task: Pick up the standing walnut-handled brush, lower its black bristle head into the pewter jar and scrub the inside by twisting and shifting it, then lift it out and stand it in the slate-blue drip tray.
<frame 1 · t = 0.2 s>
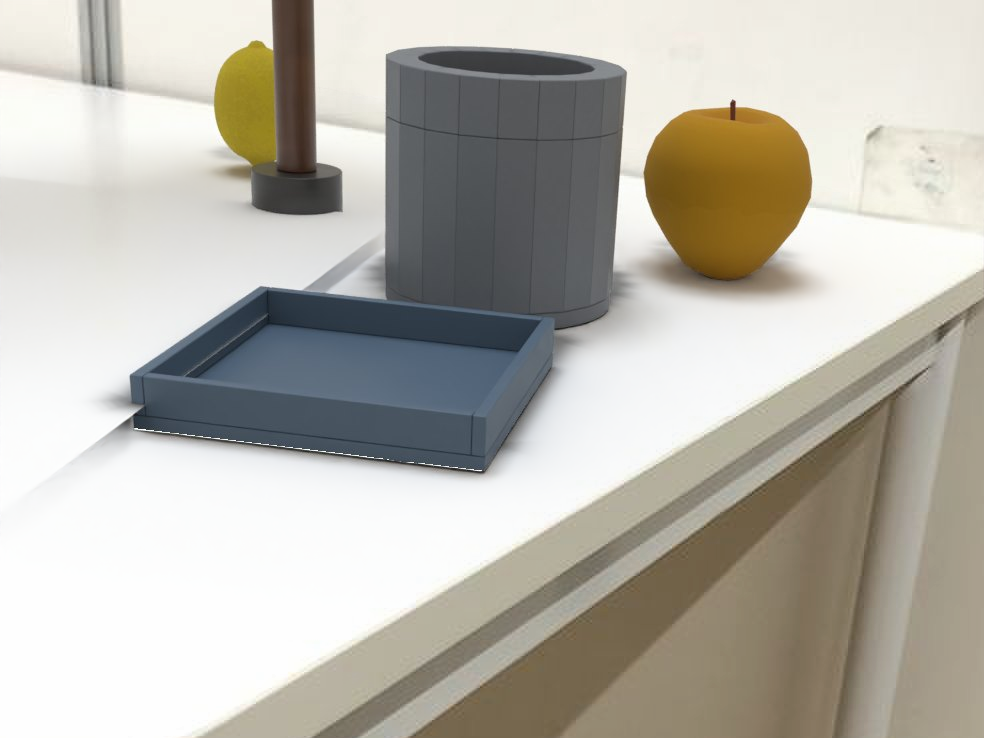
tray: (360, 395, 59), on the table
lemon: (261, 174, 97), on the table
apple: (718, 275, 81), on the table
jar: (498, 298, 73), on the table
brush: (298, 223, 84), on the table
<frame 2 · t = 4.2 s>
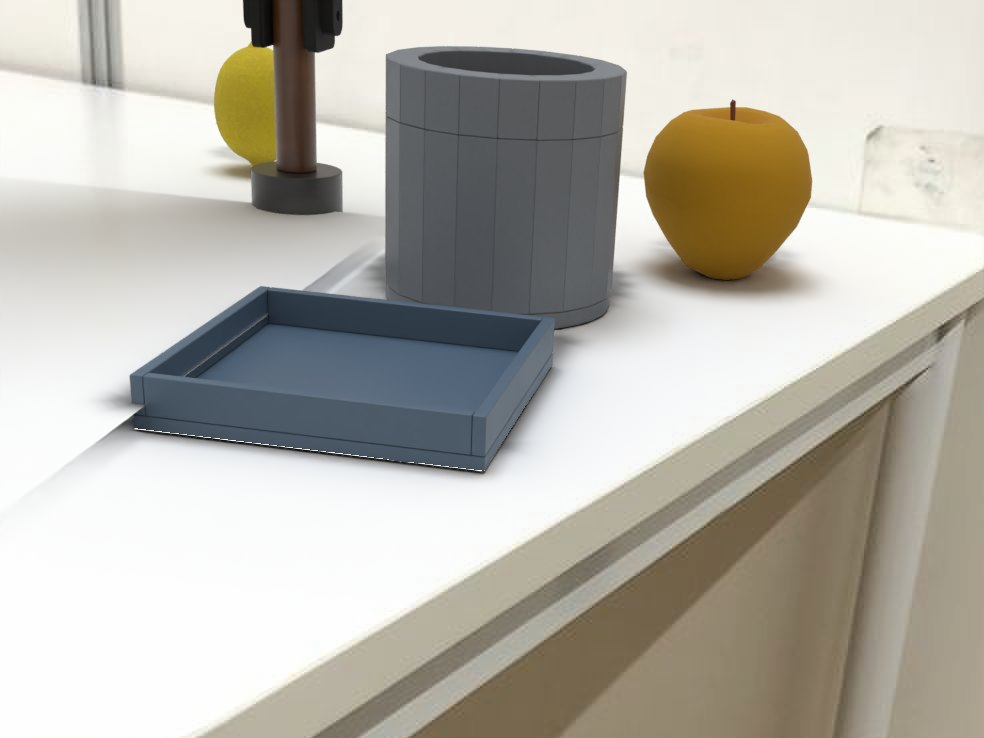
hand: (293, 44, 80), 10 cm above the table, tool pointing down, fingers closed on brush
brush: (298, 223, 84), on the table, touching gripper
everything else where it was.
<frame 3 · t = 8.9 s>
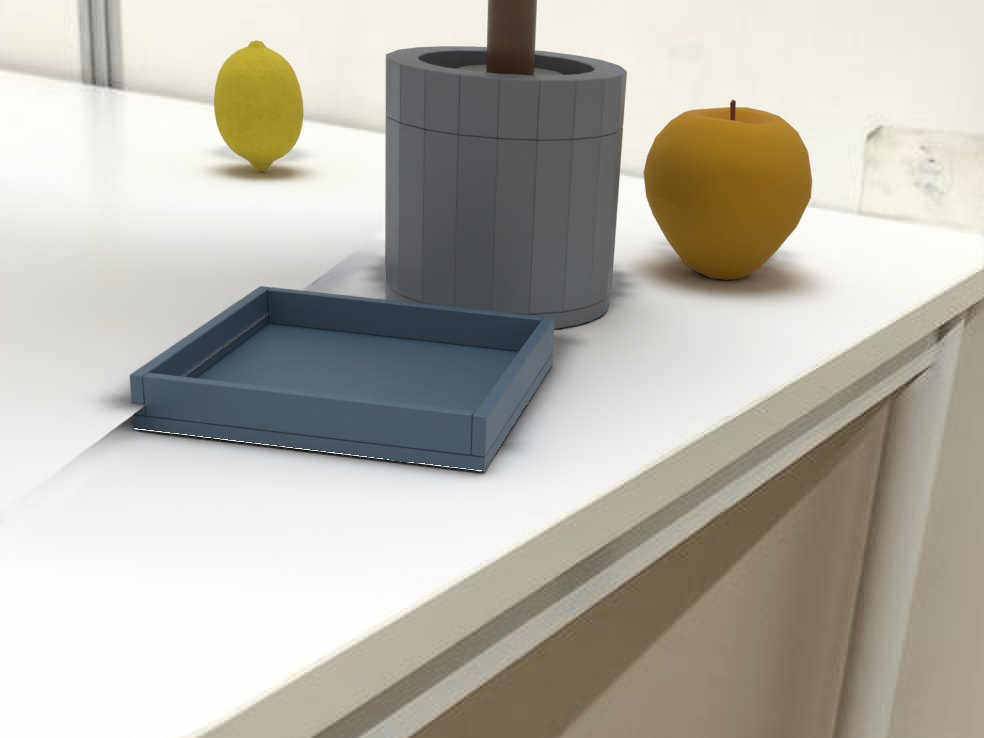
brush: (508, 139, 70), point 8 cm above the table, touching gripper
everything else where it was.
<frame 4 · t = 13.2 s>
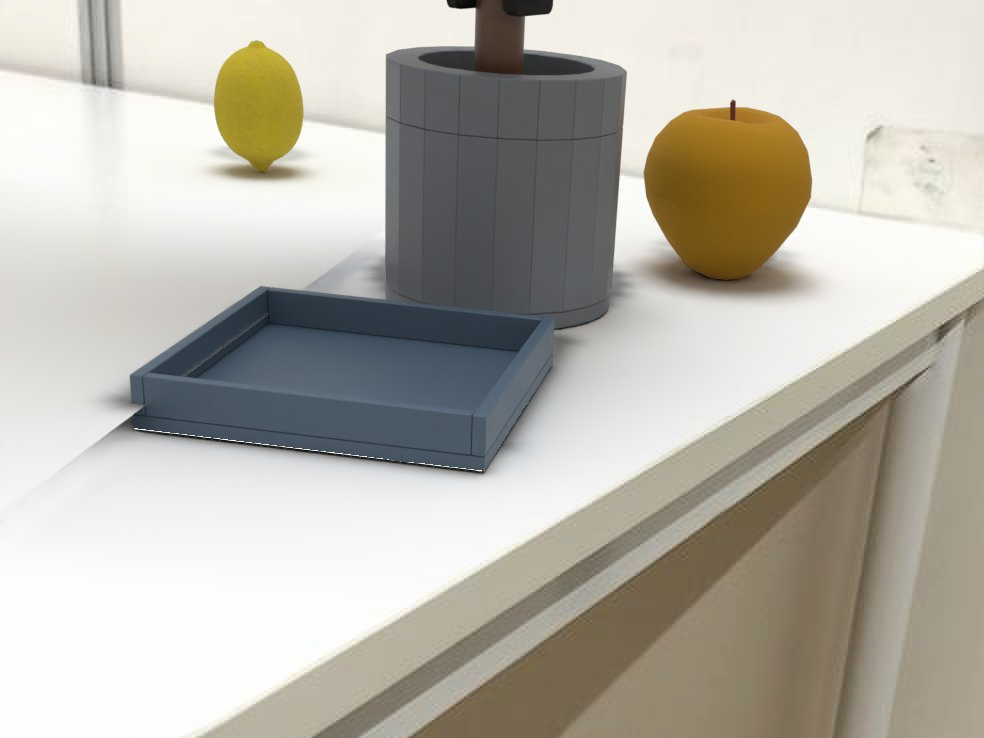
hand: (499, 7, 66), 13 cm above the table, tool pointing down, fingers closed on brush
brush: (492, 225, 70), point 4 cm above the table, touching gripper
everything else where it was.
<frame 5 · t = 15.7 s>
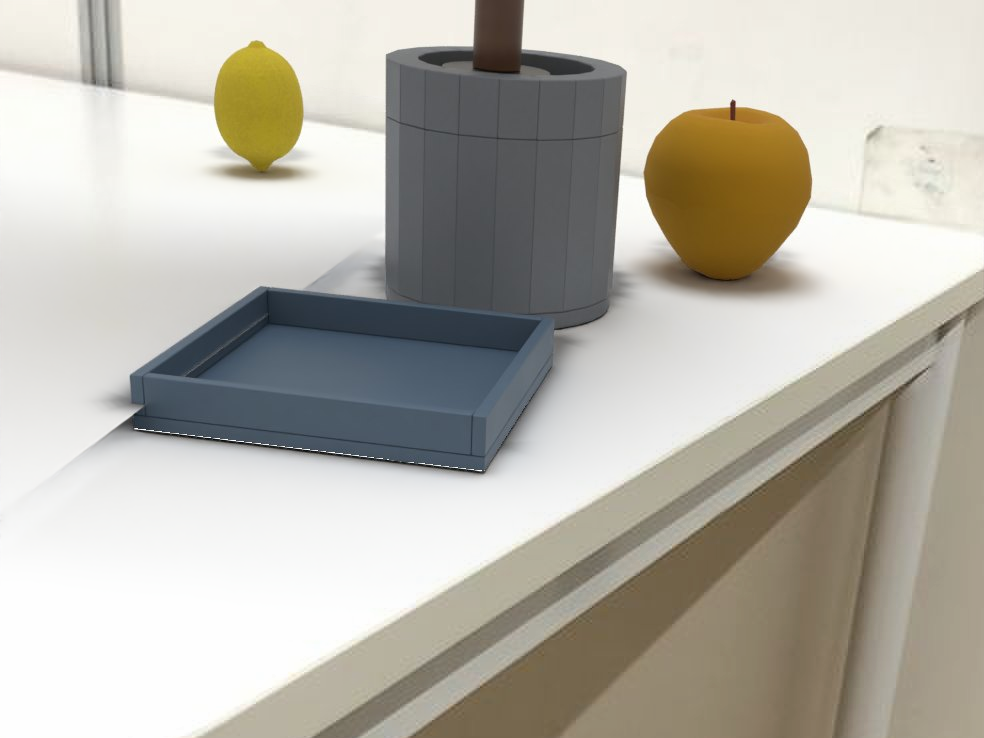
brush: (493, 136, 70), point 8 cm above the table, touching gripper
everything else where it was.
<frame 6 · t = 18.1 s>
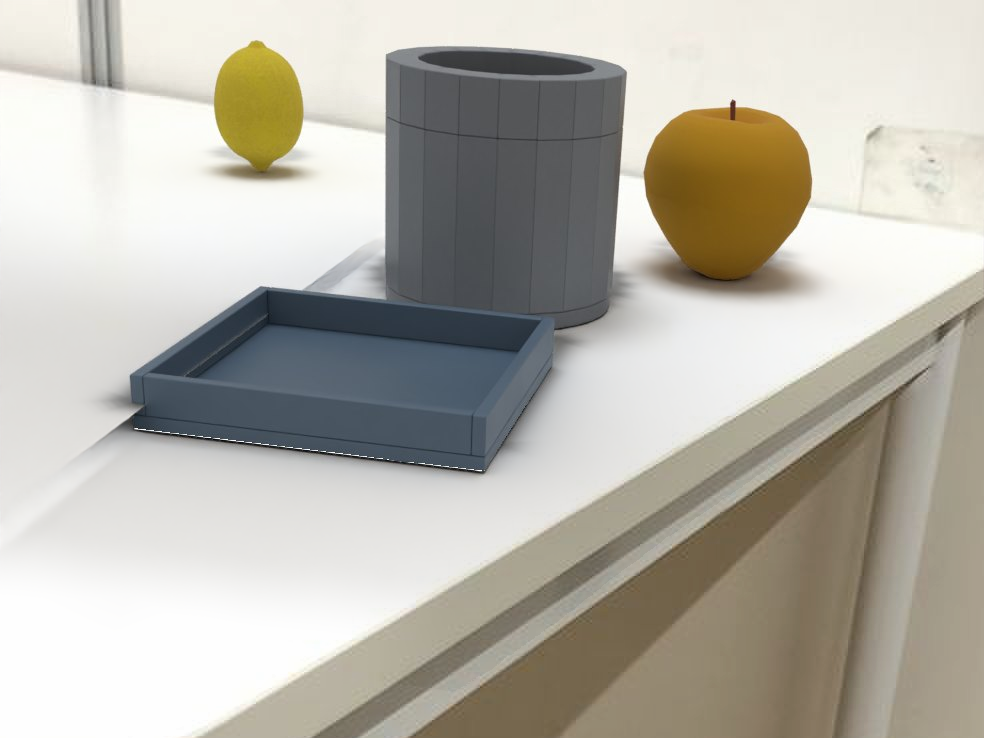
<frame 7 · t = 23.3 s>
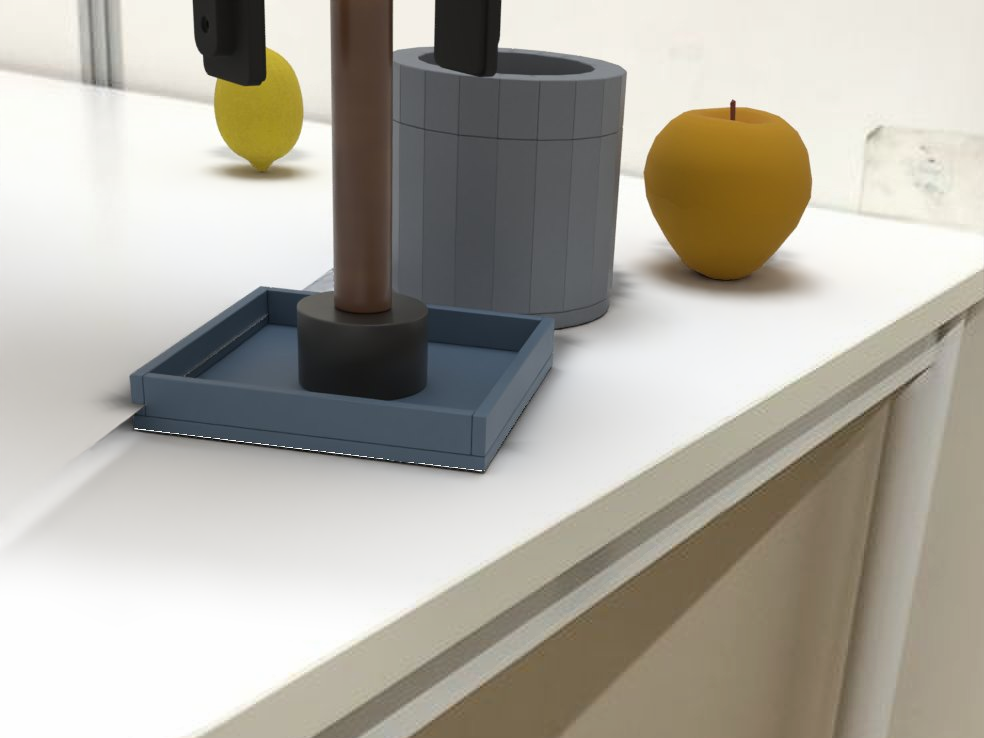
hand: (355, 75, 54), 12 cm above the table, tool pointing down, fingers open, 9 cm apart
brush: (363, 381, 59), point 1 cm above the table, touching tray
everything else where it was.
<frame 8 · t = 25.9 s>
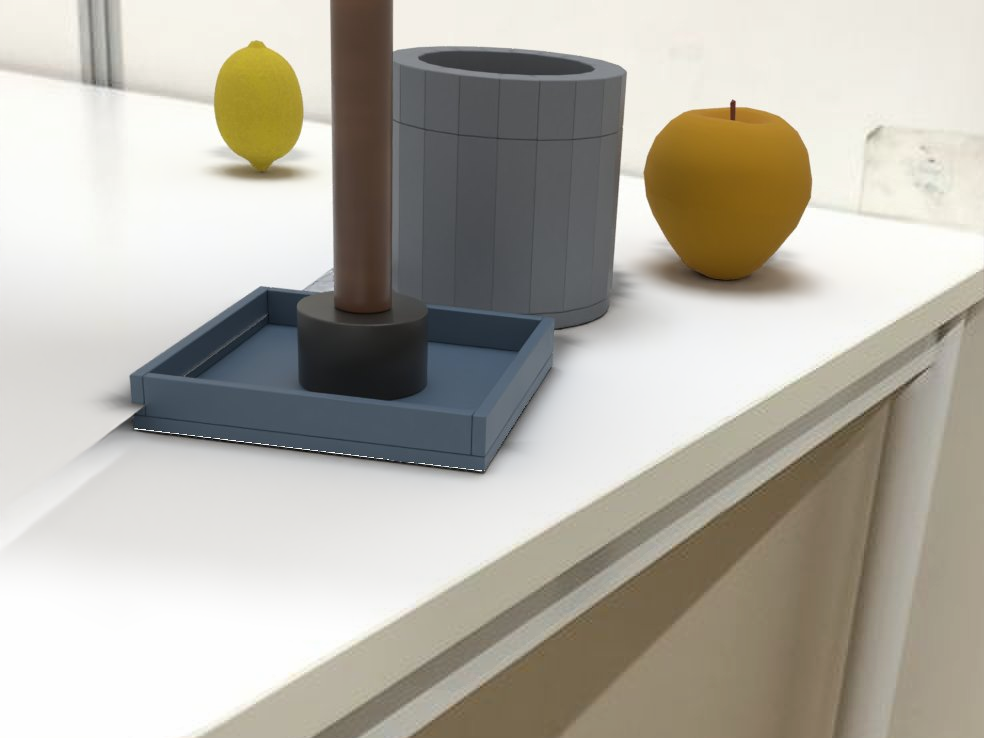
nothing on the table moved.
at the end: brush inside the target area in the tray (0.1 cm from its centre), point 0.6 cm above the tray's base; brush tilted 0°; the gripper is holding nothing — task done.
